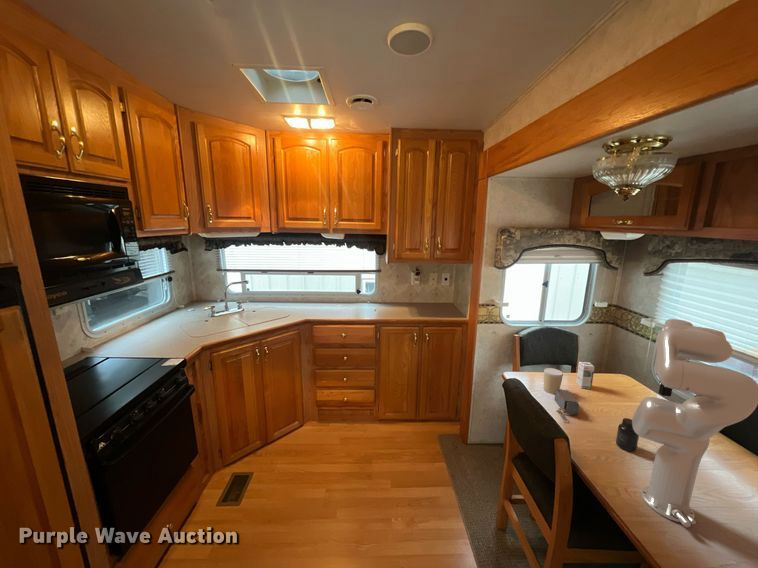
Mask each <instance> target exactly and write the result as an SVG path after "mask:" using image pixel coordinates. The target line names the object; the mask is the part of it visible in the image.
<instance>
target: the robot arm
mask: <svg viewBox="0 0 758 568" xmlns="http://www.w3.org/2000/svg"><path fill="white" fill-rule="evenodd" d="M663 325H664V326H663V327H661V330H660V332H659V334H658V336H657V339H656V358H655V361H654V366H653V371H654V373H655V375H656V376H657V377H658V380H659V381H658V383H659V389H658V394H659V395H660V396H663V397H671V396H672V393H673V390H674V391H678V392H679V391H680V392H684V393H688V394H693V395H697V396H693V397H690V398H688V399H686V400H685V401H684V402H682V403H680V402H675V401H672V400H668V399H663V398H660V397H654V396H648V397H644V398H643V399H642V400H641V401H640V403H639V405H638V406H637V408H636V409H635V411H634V414H633V416H632V419H631V420H632V427H633V429H634V431H635V433H636V434H637V435H639V438H640V437H641V438H643V439H645V440H649V441H651V442H654V443H658V444H660V445H661V446H660V447H659V448H658V449H657V450H656V451H655V452H656V453H655V455H654V456H655V457H654V462H653V466H652V469H651V470H652V471H651V475H650V480H649V485H647V486H643V487H642V488H641V493H640V494H641V498H642V499H643V501H644V502H645V503H646V504H647V505H648V506H649V508H651V509H652V510H653V511H654V512H656V513H658V514H659V515H661V516H663V517H664V518H667V519H669V520H671V521H674V522H676V523H680V524H682V525H683V526H684V527H685V528H690V527H691V526H692V525H695V524H697V521H696V520H695V512H694V510H693V509H692V508H691V507H690V503H691V499H692V495H693V491H694V487H695V483H696V479H697V476H698V471H699V466H700V463H701V461H702V459H703V456H704V455H705V453H706V451H707V450H708V448H709V446H710V439H711V438H712V437H714V436H716V435H717V434H718V433H719V432H720V431H722V430H723V429H724V428H725V427H729V426H731V425H734V424H737V423H739V422H742V421H744V420H745V419H747V418H748V417H749V416H750V415H752V413H754V411H755V410H756V408H757V407H758V383H757V381H756V380H754V379H753V378H752V377H750V376H749V375H747V374H745V373H742V372H740V371H737V370H734V369H731V368H727V367H722V366H717V365H712V364H713V363H714V364H717V363H722V362H723V363H724V362H725V361H727V360H729V359H730V358H731V357H732V355H733V351H734V350H733V347H732V344H731V343H730V342H729V341H728V340H727V338H726V335H725V333H724V332H723V331H721V330H717V329H715V328H707V327H701V326H695V325H693V323H692V322H689V321H687V320H682V319H678V318H670V319H666V320H665V322H664V324H663ZM697 361H698V362H697ZM701 362H703V363H701ZM707 363H708V364H707ZM709 363H710V364H709ZM711 363H712V364H711Z"/></svg>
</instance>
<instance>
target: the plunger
mask: <svg viewBox="0 0 758 568" xmlns="http://www.w3.org/2000/svg"><path fill="white" fill-rule="evenodd" d="M579 407H580V404H579V402H578V403H574V402H567V407H566V409H562V408H560V407H558V408H557V410H560V411H562V410H564V411H566V415H574V416H578V414H579Z"/></svg>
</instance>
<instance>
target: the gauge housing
mask: <svg viewBox="0 0 758 568" xmlns="http://www.w3.org/2000/svg"><path fill="white" fill-rule="evenodd" d="M554 401H555V403H556V404H557V406H558V408H562V409H566V407H567V402H574V403H579V401H578V400H577V399H576V398H575V397H574V395H573V394H572V393H571V392H570V391H569V390H567V389H560V390H559V389H556V392H555V394H554ZM555 412H556V414H557V415H558V417H559V418H560V419H561V421H562V422H563V423H567V424H568V423H569V420H568V418H567V417H566V415H565V414H564V413H566V411H564V410H559V409H557V410H555Z"/></svg>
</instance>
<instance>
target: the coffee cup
mask: <svg viewBox="0 0 758 568" xmlns="http://www.w3.org/2000/svg"><path fill="white" fill-rule="evenodd" d="M563 377H564V374H563V371H561V370H559V369H556V368H552V367H545V368H544V370H543V391H544V392H546V393H548V394H551V395H555V392H556V389H559V390H561V386H562V382H563V381H562V380H563Z"/></svg>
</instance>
